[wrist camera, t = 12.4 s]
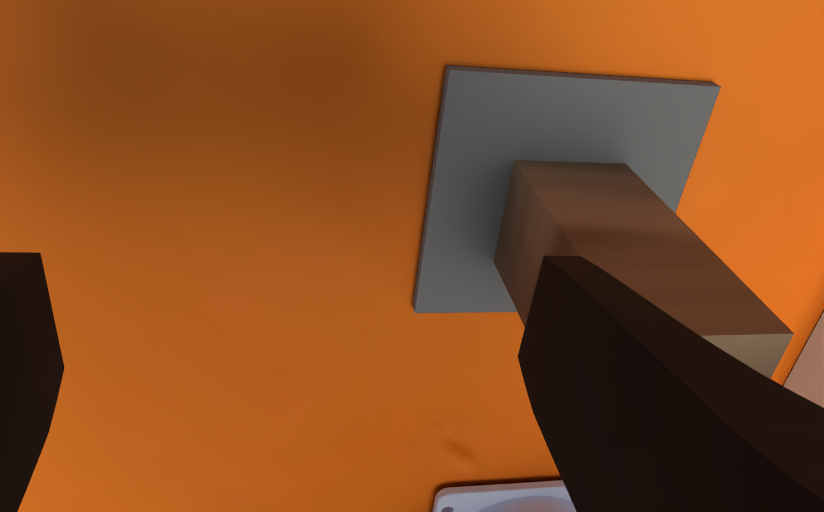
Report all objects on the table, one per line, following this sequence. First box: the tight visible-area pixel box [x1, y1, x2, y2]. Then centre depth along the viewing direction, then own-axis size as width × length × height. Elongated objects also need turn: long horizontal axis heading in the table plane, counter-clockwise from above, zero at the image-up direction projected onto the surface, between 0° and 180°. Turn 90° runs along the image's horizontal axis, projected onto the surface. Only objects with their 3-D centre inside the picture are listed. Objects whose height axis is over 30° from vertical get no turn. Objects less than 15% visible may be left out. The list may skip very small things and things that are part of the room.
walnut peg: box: [493, 160, 794, 379], centre depth 18 cm, size 4×4×8 cm
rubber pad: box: [413, 65, 721, 313], centre depth 21 cm, size 8×8×1 cm
